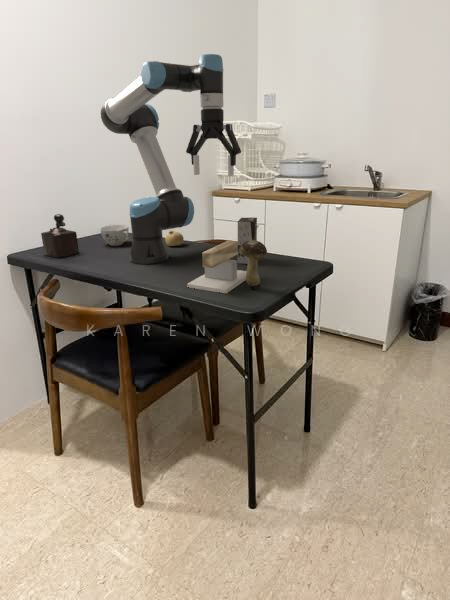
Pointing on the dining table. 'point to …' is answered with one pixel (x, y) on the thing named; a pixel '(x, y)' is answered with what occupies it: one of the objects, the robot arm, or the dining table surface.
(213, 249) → the beech bar
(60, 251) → the brown coffee grinder
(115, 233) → the teacup
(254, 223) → the coffee box
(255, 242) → the mushroom
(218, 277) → the fulcrum
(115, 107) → the robot arm
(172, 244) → the onion
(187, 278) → the dining table surface
